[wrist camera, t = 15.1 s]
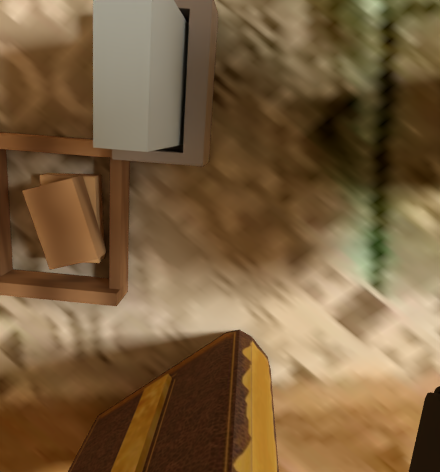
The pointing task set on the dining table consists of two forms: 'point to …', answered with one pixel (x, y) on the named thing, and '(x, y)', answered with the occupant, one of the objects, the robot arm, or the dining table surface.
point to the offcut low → (94, 192)
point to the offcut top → (65, 222)
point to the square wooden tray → (116, 286)
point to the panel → (139, 74)
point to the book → (192, 417)
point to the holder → (191, 91)
